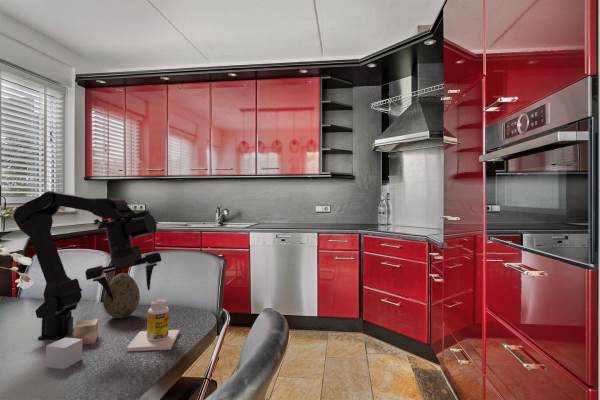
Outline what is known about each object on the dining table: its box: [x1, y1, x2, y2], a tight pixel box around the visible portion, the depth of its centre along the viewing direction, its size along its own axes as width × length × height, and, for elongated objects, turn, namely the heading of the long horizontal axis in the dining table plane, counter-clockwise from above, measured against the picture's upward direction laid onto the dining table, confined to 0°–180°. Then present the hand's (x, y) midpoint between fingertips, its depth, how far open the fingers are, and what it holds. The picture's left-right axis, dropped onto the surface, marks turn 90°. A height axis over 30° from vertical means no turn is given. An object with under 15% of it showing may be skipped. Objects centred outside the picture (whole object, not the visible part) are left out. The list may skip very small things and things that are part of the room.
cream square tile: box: [126, 329, 180, 352], centre depth 91 cm, size 11×11×1 cm
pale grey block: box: [45, 336, 83, 370], centre depth 78 cm, size 5×5×5 cm
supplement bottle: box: [146, 299, 170, 341], centre depth 91 cm, size 6×6×10 cm
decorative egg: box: [103, 272, 141, 320], centre depth 109 cm, size 11×11×15 cm
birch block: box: [73, 318, 99, 345], centre depth 91 cm, size 5×5×5 cm
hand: (131, 295), depth 92 cm, fingers open, 9 cm apart
